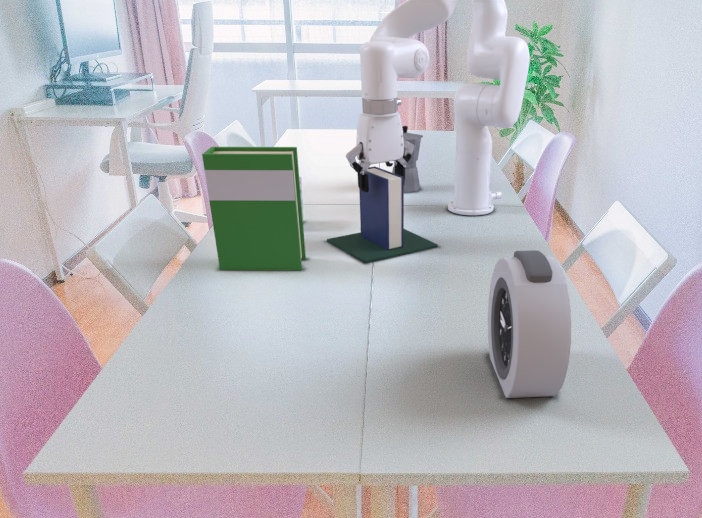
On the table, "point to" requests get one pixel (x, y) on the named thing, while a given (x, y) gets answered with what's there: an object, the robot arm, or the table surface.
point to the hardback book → (255, 207)
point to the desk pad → (373, 252)
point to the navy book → (383, 209)
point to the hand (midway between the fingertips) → (382, 187)
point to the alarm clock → (529, 325)
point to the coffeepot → (410, 162)
